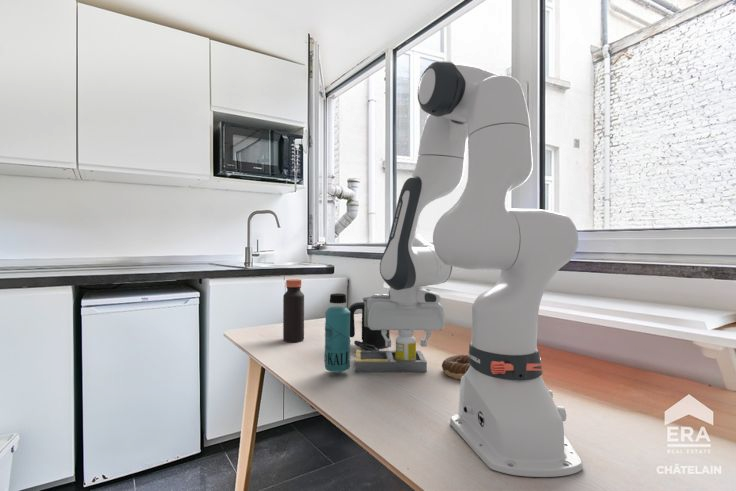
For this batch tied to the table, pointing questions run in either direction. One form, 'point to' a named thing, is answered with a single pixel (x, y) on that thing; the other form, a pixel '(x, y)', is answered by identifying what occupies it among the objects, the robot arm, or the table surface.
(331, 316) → the beverage bottle
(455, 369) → the donut
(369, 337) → the milk frother
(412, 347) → the supplement bottle
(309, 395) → the table surface
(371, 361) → the grey compartment tray
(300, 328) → the vinegar
